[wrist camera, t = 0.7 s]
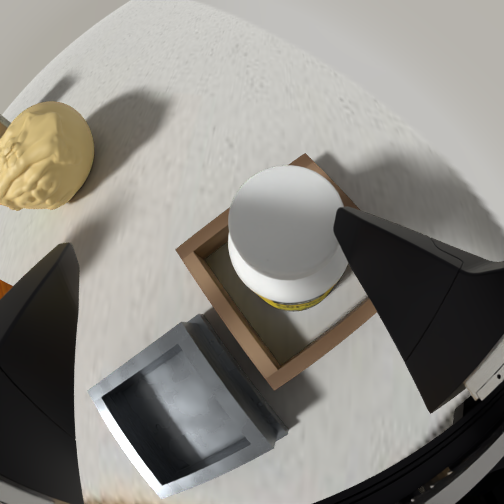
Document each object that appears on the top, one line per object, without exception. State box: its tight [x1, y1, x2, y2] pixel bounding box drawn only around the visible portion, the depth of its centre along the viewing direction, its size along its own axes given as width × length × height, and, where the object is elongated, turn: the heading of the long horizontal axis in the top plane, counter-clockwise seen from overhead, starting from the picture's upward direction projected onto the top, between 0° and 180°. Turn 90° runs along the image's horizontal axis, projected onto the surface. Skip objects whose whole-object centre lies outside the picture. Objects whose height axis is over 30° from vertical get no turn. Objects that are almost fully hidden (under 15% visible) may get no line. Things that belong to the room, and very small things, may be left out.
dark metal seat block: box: [88, 314, 288, 499], centre depth 19 cm, size 11×11×4 cm
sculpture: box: [0, 101, 94, 211], centre depth 24 cm, size 12×12×11 cm
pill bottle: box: [228, 165, 348, 311], centre depth 17 cm, size 6×6×11 cm
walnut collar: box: [175, 153, 377, 391], centre depth 21 cm, size 12×12×2 cm
